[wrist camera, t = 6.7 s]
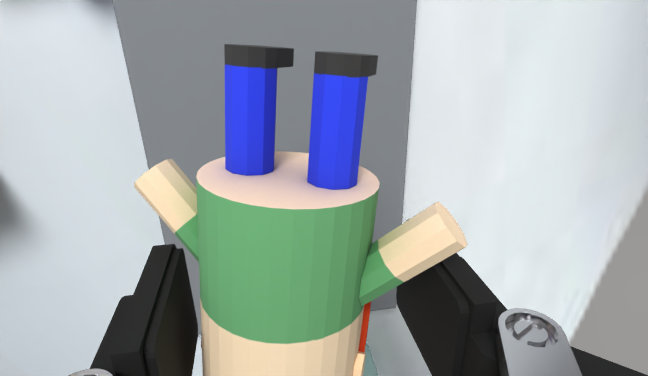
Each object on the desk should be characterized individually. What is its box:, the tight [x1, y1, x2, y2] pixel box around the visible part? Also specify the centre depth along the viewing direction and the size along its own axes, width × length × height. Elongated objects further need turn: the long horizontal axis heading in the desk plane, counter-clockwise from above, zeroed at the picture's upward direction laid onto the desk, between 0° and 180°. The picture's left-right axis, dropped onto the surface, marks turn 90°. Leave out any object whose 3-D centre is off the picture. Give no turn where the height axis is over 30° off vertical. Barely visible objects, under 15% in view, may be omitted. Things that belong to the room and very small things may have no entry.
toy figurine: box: [134, 44, 468, 376], centre depth 11 cm, size 8×4×12 cm
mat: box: [112, 0, 417, 334], centre depth 18 cm, size 11×16×1 cm
